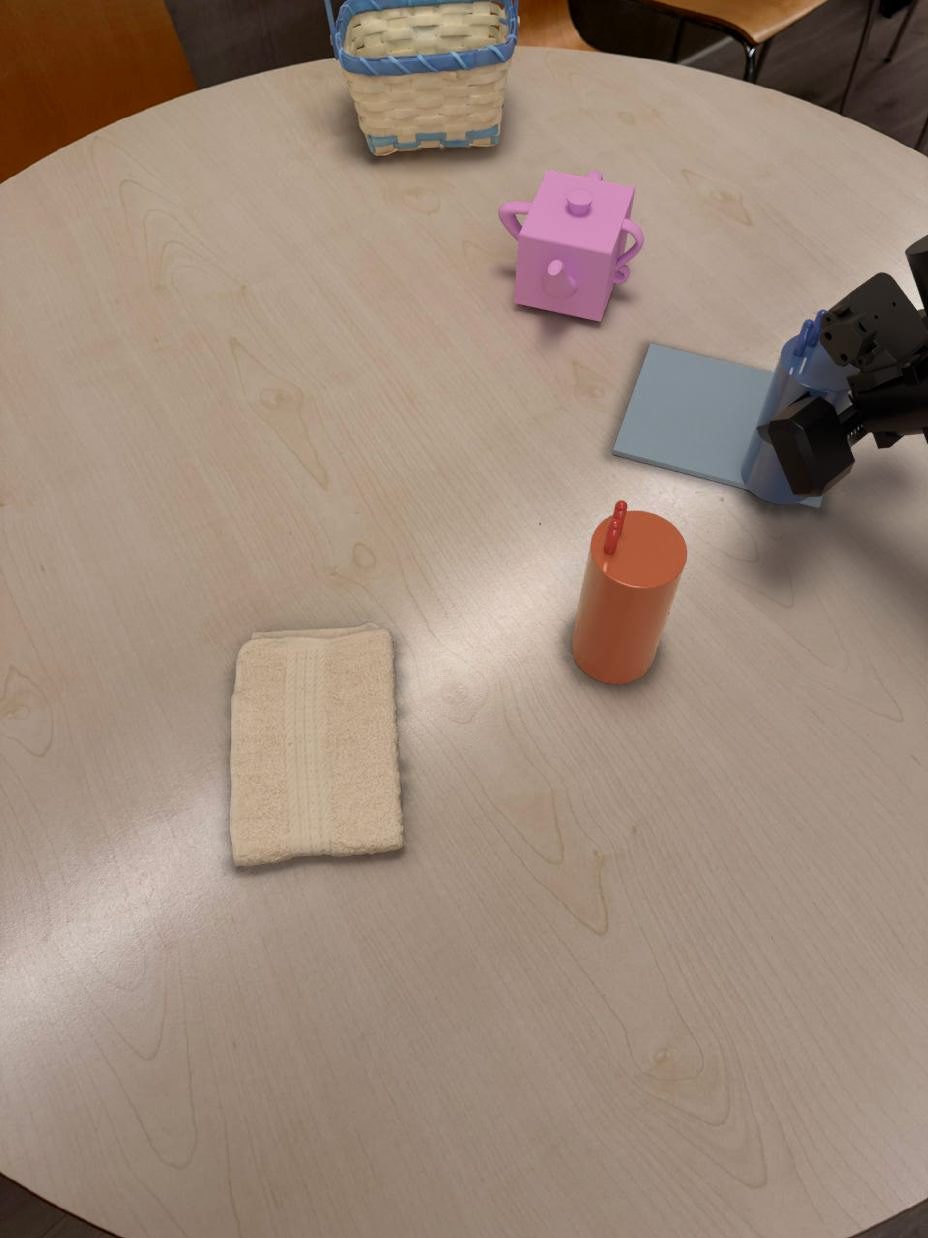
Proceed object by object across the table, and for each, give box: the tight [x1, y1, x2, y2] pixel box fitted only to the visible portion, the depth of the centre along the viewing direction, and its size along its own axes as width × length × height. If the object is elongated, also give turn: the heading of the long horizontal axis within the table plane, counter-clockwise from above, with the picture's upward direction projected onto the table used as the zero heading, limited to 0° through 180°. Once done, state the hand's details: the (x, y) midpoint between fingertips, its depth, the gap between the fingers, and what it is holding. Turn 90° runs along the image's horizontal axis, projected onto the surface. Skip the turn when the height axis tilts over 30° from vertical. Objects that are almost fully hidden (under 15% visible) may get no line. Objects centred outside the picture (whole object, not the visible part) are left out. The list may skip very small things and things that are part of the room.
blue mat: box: [611, 343, 824, 509], centre depth 91 cm, size 18×14×1 cm
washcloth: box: [229, 621, 407, 867], centre depth 73 cm, size 12×18×3 cm, turn 6°
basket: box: [323, 0, 521, 157], centre depth 105 cm, size 21×16×24 cm
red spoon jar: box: [570, 499, 688, 685], centre depth 72 cm, size 6×6×16 cm
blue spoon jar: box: [741, 309, 860, 505], centre depth 81 cm, size 6×6×16 cm
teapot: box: [497, 169, 645, 323], centre depth 96 cm, size 18×14×10 cm
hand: (787, 411), depth 82 cm, fingers closed on blue spoon jar, 6 cm apart
